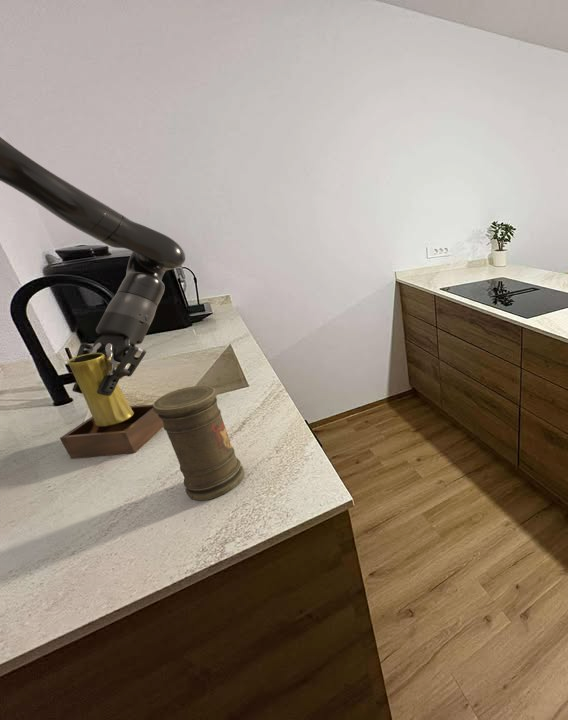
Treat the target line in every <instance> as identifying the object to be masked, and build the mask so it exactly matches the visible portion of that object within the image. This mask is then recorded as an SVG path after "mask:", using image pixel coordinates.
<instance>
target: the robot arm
mask: <svg viewBox="0 0 568 720" xmlns="http://www.w3.org/2000/svg"><path fill="white" fill-rule="evenodd" d="M0 182H2V183H4V184H5V185H7V186H9V187H12V189H15V190H16V191H18V192H20V193H22V194H23V195H24V196H26V197H27V198H29V199H31V200H32V201H34V202H35V203H36V204H38V205H40V206H41V207H42V208H44V209H46V210H47V211H48V212H49V213H51V214H52V215H54V216H56V217H57V218H58V219H60V220H62V221H63V222H65V223H66V224H68V225H70V226H72V227H73V228H75V229H76V230H79V231H80V232H82V233H84V234H86V235H88V236H89V237H92V238H93V239H96V240H97V241H99V242H101V243H103V244H105V245H107V246H109V247H112V248H117V249H125V250H128V251H131V254H130V256H129V259H128V263H127V268H126V271H125V272H126V274H125V277H124V279H123V280H122V281H121V284H120V285H119V287H118V290H117V291H116V293H115V295H114V296H113V297H112V299H111V300H110V301H109V303H108V305H107V307H106V309H105V311H104V312H103V314H102V316H101V318H100V321H99V322H98V324H97V326H96V328H95V332H96V333H97V335H98V339H96V340H95V341H94V342H93V343H91V344H90V343H86V342H82V343H81V344H80V345H79V348H78V350H77V354H76V356H75V357H77V356H80V355H84V354H89V353H103V354H104V355H105V357H106V359H105V362H106V364H107V373H106V374H107V375H108V376H104V378H103V380H102V382H101V384H100V386H99V388H98V390H97V393H98V394H101V395H105V396H110V395H111V394H112V393H113V391H114V390H115V387H116V385H117V384H118V383H119V381H120V380H121V379H123V378H124V377H131V376H133V375H134V372H135V371H136V369H137V368H138V367H139V365H140V363H141V361H143V358H144V357H145V355H146V354H147V350H145V349H143V348H140V347H137V346H138V345H141V344H143V341H144V340H145V338H146V335H147V333H148V331H149V329H150V327H151V324H152V323H153V321H154V318H155V316H156V311H157V309H158V306H159V304H160V302H161V299H162V297H163V295H164V293H165V288H166V287H165V283H164V282H163V281H162V280H163V277H164V275H165V273H166V272H167V271H171V270H174V269H178V268H179V267H181V266H182V265H184V263H185V261H186V253H185V251H184V249H183V247H182V246H181V245H180V244H179V243H178V242H177V241H175V240H174V239H173V238H171V237H169V236H168V235H166V234H164V233H162V232H160V231H157V230H155V229H152V228H151V227H148V226H146V225H143V224H141V223H138V222H136V221H133V220H131V219H129V217H126V216H124V215H123V214H122V213H120V212H118V211H116V209H113V208H111V207H110V206H108V205H106V204H105V203H103V202H101V201H100V200H98V199H97V198H95V197H93V196H92V195H90V194H89V193H86V192H85V191H83V190H81V189H80V188H78V187H76V186H75V185H73V184H71V183H70V182H68V181H66V180H64V179H63V178H61V177H60V176H58V175H56V174H55V173H53V172H51V171H50V170H49V169H47V168H45V167H44V166H42V165H41V164H39V163H38V162H36V161H35V160H33V159H32V158H30V157H29V156H27V155H26V154H24V153H23V152H22V151H21V150H18V149H17V148H16V147H15V146H13V145H12V144H11V143H9V142H8V141H7V140H5V139H4V138H2V137H1V136H0ZM136 345H137V346H136ZM128 365H129V367H128ZM74 382H75V383H74V384H73V387H72V389H71V390H72V392H73V393H78V394H81V395H83V393H82V391H81V389H80V387H79V385H78V383H77V381H76V380H75V381H74Z"/></svg>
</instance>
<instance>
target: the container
mask: <svg viewBox="0 0 568 720" xmlns="http://www.w3.org/2000/svg"><path fill="white" fill-rule="evenodd" d="M217 396H218V392H217V390H216V388H214V387H212V386H210V385H193V386H186V387H182V388H179V389H176V390H173V391H170V392H168V393H165V394H163V395H161V396H160V397H158V398H157V399H156V400H155V401H154V402H153V403H152V404H153V410H154V412H155V413H157V414H158V416H159V418H161V420H162V421H163V424H164V427H163V429H164V432H166V435H167V437H168V439H169V441H170V444H171V446H172V448H173V451H174V453H175V456H176V458H177V462H178V464H179V470H180V473H182V476H183V485H184V487H185V492H186V495H187V496H188V497H189V498H190V499H192V500H196V501H207V500H211V499H215V498H218V497H220V496H222V495H225V494H227V493H228V492H230V491H231V490H233V489H234V488H236V487H237V486H238V485H239V484H240V483H241V482H242V481H243V478H244V476H245V469H244V466H243V465H242V463H241V460H240V459H239V458H237V456H236V453H235V449H234V447H233V445H232V443H231V440H230V438H229V434H228V431H227V428H226V424H225V422H224V420H223V416H222V414H221V413H222V411H221V409H220V408H219V407H218V397H217Z"/></svg>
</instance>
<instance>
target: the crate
mask: <svg viewBox="0 0 568 720" xmlns="http://www.w3.org/2000/svg"><path fill="white" fill-rule="evenodd" d="M153 404H154V403H152V404H141V405H130V407H131V409H132V411H133V412H134V414H133V416H132V417H130V418H129V419H128V420H126V421H124V422H121V423H118V424H115V425H111V426H104V427H100V426H97V425H96V424H95V421H94V418H93V416H92V415H91V417H89V418H88V419H86V420H84V421H83V422H81V423H79V425H77V426H75V427H74V428H73V429H71V430H69V431H68V432H67V433H65V434H64V435H62V436H60V437H59V440H60V441H61V443H62V445H63V448H64V449H65V450H66V452H67V454H68V456H69V458H70V459H81V458H92V457H103V456H115V455H126V454H135V453H136V452H138V451H139V450H140V449H141V448H142V447H144V445H145V444H146V443H147V442H149V441H150V440H151V439H152V438H153V437H154V436H156V435H157V434H158V433H159V432H160V431H161V430H162V429H163V428H164V424H163V421H162V420H161V418H159V416H158V414H157V413H155V412H154V410H153ZM162 427H163V428H162ZM161 428H162V429H161ZM160 429H161V430H160ZM159 430H160V431H159ZM158 431H159V432H158Z"/></svg>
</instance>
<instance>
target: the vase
mask: <svg viewBox="0 0 568 720" xmlns="http://www.w3.org/2000/svg"><path fill="white" fill-rule="evenodd" d="M76 356H77V355H76ZM76 356H74V357H72V358H70V359H68V360H67V364H68V366H69V368H70V370H71V373H72V374H73V376H74V379H75V382H76V381H77V383H78V385H79V387H80V389H81V391H82V393H83V394H82V395H83V398H84V400H85V402H86V405H87V408H88V410H89V411H90V414H91V417H92V416H93V418H94V421H95V424H96V425H97V426H100V427H104V426H111V425H115V424H118V423H121V422H124V421H126V420H128V419H129V418H130V417H132V416H133V414H134V412H133V411H132V409H131V407H130V406H131V405H130V403H129V402H128V400H127V398H126V396H125V394H124V393H123V391H122V388H121V387H120V386H119V384H118V383H117V385H116V387H115V390H114V391H113V393H112V394H111V395H110V396H105V395H101V394H98V393H97V390H98V388H99V386H100V384H101V382H102V380H103V378H104V376H108V375H107V374H106V373H107V364H106V362H105V359H106V357H105V355H104V354H103V353H89V354H84V355H80V356H77V357H76Z"/></svg>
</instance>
